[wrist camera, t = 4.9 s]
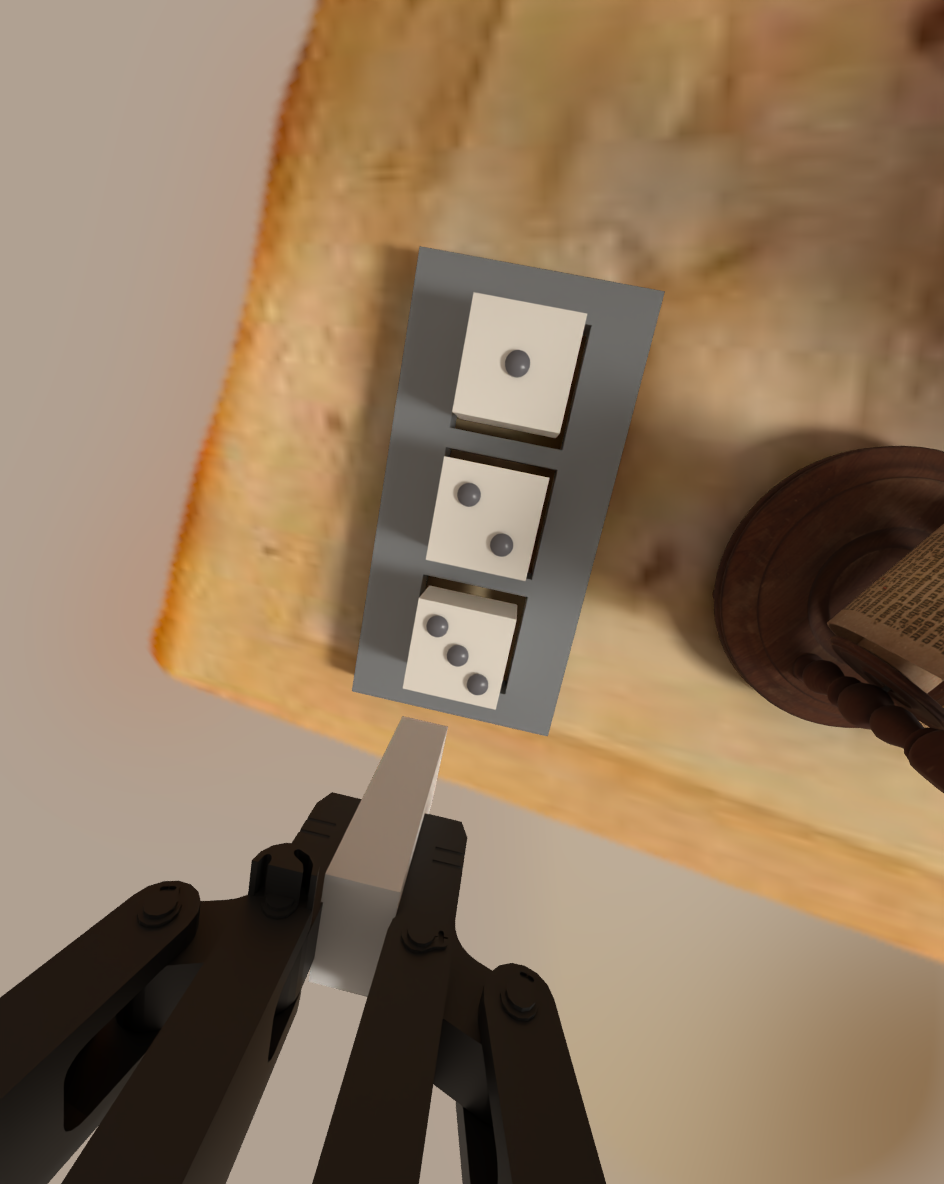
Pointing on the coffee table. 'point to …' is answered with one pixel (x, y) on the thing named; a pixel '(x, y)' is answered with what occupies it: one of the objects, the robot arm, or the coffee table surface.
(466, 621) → the white die
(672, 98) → the coffee table surface
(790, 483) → the scroll
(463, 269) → the button board
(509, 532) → the white die
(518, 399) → the white die
